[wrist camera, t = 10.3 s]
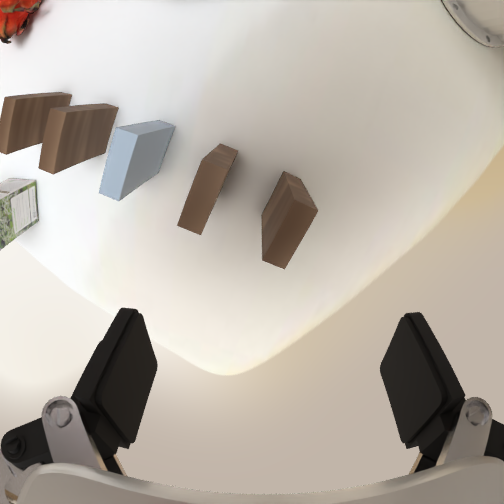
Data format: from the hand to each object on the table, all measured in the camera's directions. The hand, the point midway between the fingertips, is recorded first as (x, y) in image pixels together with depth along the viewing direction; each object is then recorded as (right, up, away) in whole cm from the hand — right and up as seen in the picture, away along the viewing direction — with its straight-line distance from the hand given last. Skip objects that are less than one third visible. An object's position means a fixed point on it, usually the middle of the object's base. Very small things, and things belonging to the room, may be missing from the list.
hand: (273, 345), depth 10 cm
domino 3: (-10, +13, +16) cm, 23 cm away
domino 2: (-16, +16, +15) cm, 27 cm away
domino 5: (+2, +9, +18) cm, 20 cm away
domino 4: (-4, +11, +17) cm, 21 cm away
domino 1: (-22, +18, +14) cm, 31 cm away
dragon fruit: (-28, +34, +6) cm, 44 cm away
